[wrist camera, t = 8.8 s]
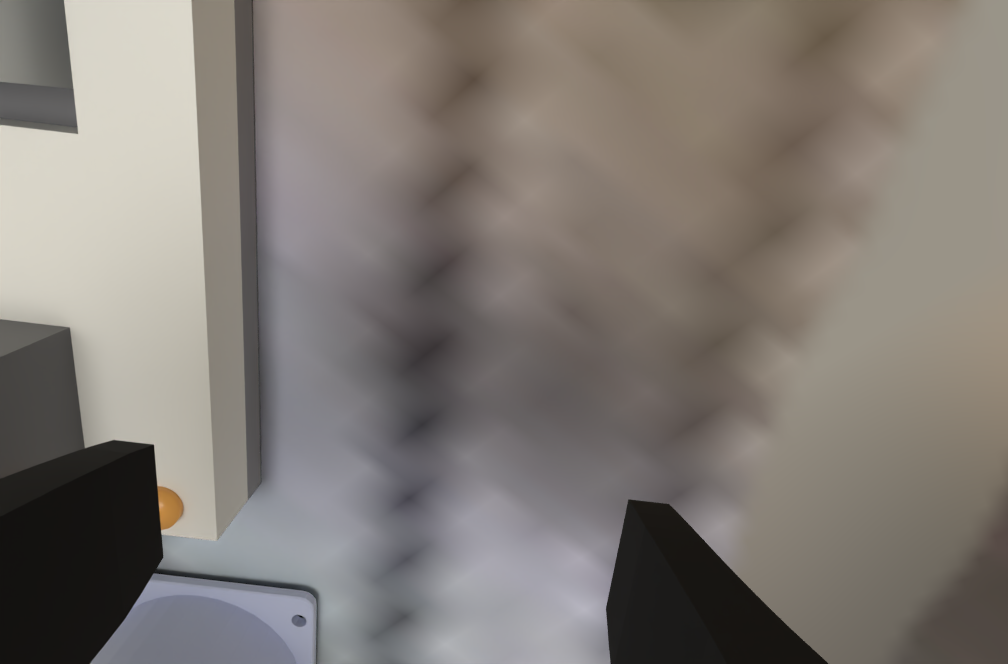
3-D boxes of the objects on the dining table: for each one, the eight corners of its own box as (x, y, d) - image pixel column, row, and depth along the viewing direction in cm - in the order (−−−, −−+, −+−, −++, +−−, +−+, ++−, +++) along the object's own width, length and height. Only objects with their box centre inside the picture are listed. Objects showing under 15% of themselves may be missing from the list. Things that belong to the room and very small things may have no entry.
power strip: (261, 482, 20) (211, 547, 17) (-40, 447, 20) (-145, 506, 17) (248, -173, 14) (171, -259, 11) (-172, -223, 14) (-369, -324, 11)
